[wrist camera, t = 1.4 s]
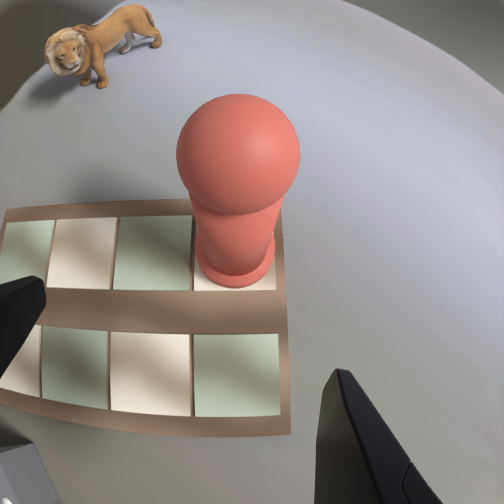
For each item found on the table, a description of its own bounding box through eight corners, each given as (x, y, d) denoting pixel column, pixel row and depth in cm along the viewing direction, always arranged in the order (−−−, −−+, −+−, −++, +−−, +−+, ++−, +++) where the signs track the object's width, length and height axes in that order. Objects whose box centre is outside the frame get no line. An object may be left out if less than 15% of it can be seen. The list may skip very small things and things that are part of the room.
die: (59, 499, 15) (27, 520, 11) (18, 499, 15) (-14, 516, 10) (34, 442, 17) (-4, 454, 12) (-5, 447, 16) (-42, 455, 11)
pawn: (274, 288, 21) (332, 183, 9) (195, 288, 20) (146, 183, 8) (271, 216, 22) (309, 68, 10) (197, 216, 22) (169, 66, 10)
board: (287, 430, 19) (291, 434, 18) (-5, 399, 17) (-15, 399, 16) (277, 206, 24) (280, 197, 23) (13, 214, 23) (5, 207, 21)
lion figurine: (88, 117, 26) (57, 48, 18) (57, 105, 27) (26, 45, 18) (174, 36, 31) (167, -26, 22) (141, 30, 31) (130, -27, 23)
